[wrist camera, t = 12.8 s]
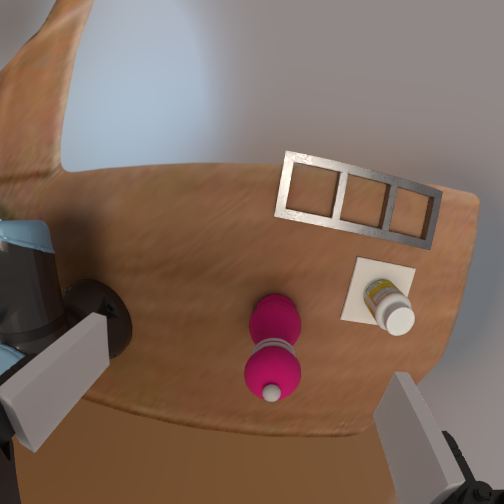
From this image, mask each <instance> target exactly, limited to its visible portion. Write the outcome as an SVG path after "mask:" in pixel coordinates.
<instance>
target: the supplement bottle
mask: <svg viewBox="0 0 504 504" xmlns="http://www.w3.org/2000/svg"><path fill="white" fill-rule="evenodd" d="M364 302H365V305H366V306H367V308H368V310H369V311H370V313H371V314H372V316H373V318H374V319H375V321H376V322H377V324H378V325H379V326H380V327H381V328H382V329H384V330H388V332H389V333H390V334H392V335H396V336H398V335H403V334H405V333H406V332H408V331H409V330H410V329H411V327H412V326H413V323H414V313H413V311H412V310H411V304H410V301H409V300H408V298H407V297H406V296H405V295H404V294H403V293H402V292H401V291H400V290H399V289H398V288H397V287H396V286H395V285H394V284H393V283H392V282H391V281H389V280H387V279H383V278H381V279H376V280H374V281H372V282H371V283H370V284H369V285H368V286H367V287H366V289H365V291H364Z"/></svg>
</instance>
